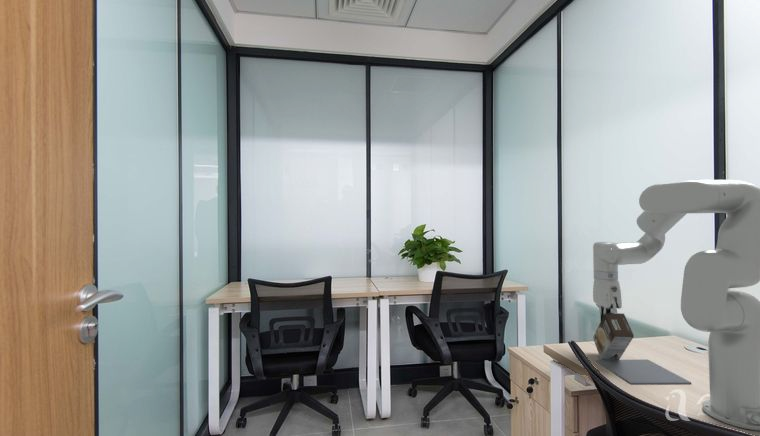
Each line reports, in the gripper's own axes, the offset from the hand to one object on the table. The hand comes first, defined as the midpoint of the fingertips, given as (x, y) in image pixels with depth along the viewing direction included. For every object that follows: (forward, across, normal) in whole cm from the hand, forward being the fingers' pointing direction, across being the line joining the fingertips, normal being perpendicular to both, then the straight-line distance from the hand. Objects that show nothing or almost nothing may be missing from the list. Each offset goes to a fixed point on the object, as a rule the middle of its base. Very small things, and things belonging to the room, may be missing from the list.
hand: (606, 325), depth 127 cm
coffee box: (+9, +1, 0) cm, 9 cm away
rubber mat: (+12, -12, -3) cm, 17 cm away
